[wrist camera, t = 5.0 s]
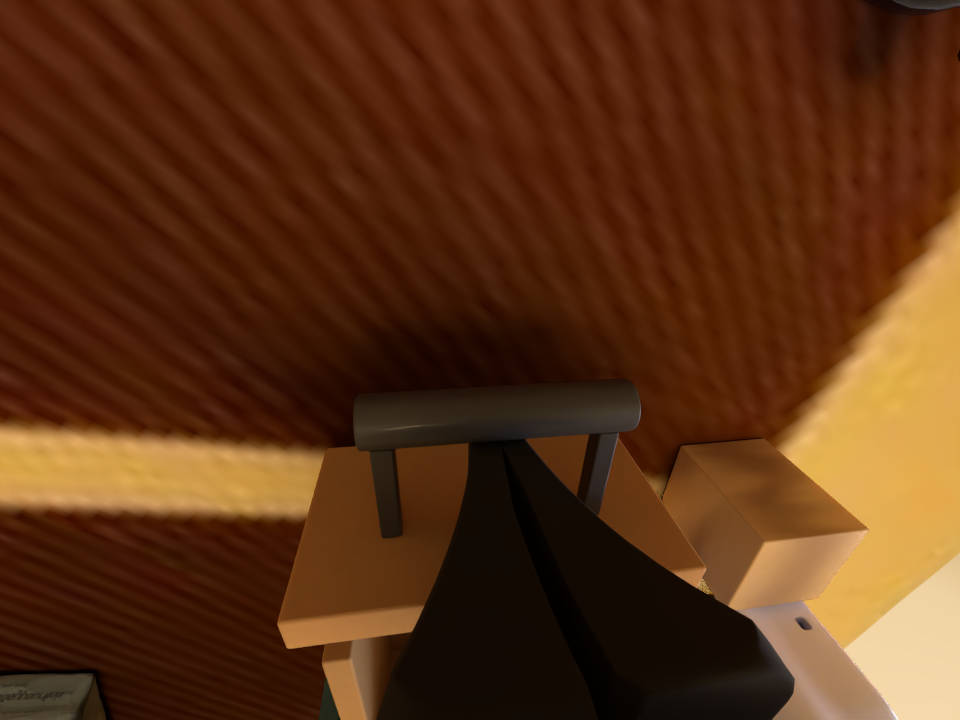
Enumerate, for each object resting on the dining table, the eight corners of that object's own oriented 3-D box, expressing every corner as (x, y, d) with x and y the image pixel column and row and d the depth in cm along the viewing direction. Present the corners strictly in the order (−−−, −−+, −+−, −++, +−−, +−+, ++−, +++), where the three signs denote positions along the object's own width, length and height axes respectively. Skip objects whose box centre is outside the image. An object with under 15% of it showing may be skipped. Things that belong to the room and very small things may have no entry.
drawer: (301, 332, 12) (215, 479, 7) (636, 319, 14) (775, 433, 9) (367, 639, 21) (350, 809, 16) (568, 611, 23) (615, 758, 17)
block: (764, 437, 19) (871, 529, 15) (733, 501, 21) (818, 599, 17) (680, 444, 19) (764, 542, 14) (657, 509, 21) (724, 613, 16)
